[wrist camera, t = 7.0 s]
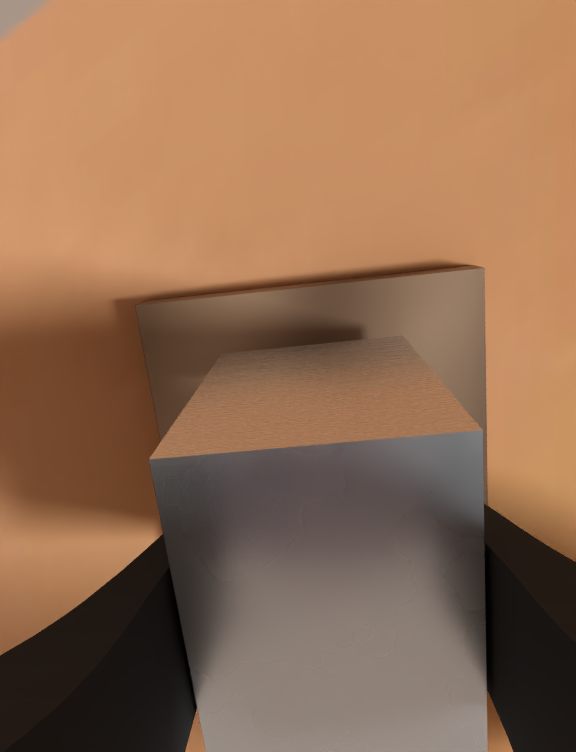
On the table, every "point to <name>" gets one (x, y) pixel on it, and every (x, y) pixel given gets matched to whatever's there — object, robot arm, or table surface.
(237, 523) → the brushed steel brick
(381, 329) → the thin tan panel
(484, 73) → the table surface
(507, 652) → the robot arm
